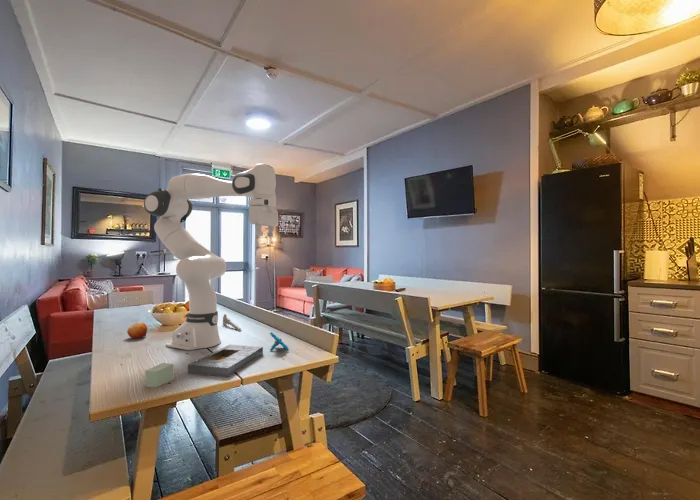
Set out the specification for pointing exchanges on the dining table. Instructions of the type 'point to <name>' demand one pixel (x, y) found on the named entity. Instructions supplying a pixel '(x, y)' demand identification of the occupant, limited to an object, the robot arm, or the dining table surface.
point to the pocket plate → (225, 360)
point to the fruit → (137, 330)
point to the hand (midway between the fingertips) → (265, 236)
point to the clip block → (158, 375)
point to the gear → (277, 342)
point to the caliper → (227, 321)
